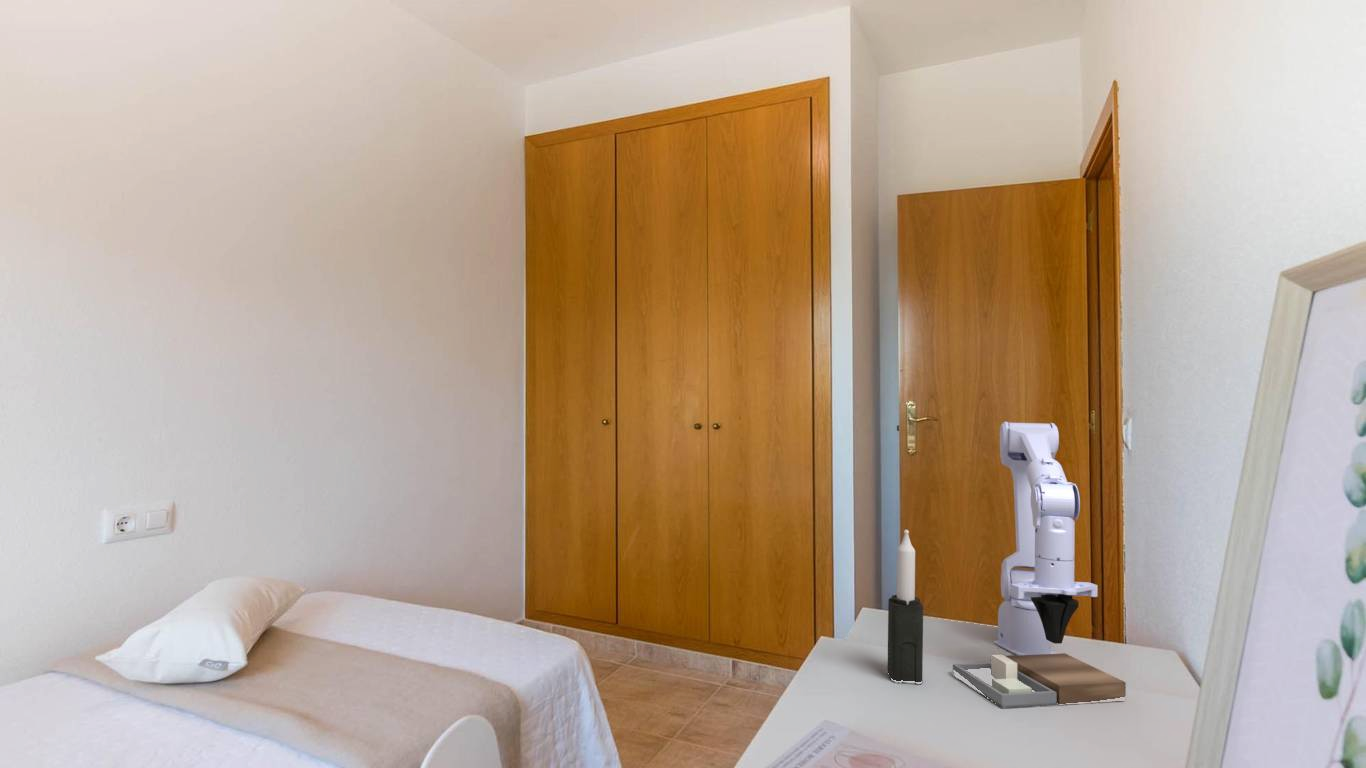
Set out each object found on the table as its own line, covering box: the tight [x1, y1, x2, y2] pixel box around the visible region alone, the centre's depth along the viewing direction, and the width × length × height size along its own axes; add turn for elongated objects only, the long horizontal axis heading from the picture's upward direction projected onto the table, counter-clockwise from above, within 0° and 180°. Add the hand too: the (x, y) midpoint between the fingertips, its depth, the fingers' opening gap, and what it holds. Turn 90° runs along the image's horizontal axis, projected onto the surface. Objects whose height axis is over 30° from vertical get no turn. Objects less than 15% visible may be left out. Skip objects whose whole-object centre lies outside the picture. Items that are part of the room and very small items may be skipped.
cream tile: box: [990, 654, 1017, 679], centre depth 112 cm, size 4×4×2 cm
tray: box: [952, 661, 1058, 709], centre depth 110 cm, size 13×10×2 cm
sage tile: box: [992, 678, 1032, 694], centre depth 107 cm, size 4×4×2 cm
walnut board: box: [1005, 652, 1127, 705], centre depth 112 cm, size 13×12×3 cm
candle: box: [887, 529, 924, 682], centre depth 114 cm, size 5×5×25 cm
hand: (1054, 641), depth 109 cm, fingers closed
